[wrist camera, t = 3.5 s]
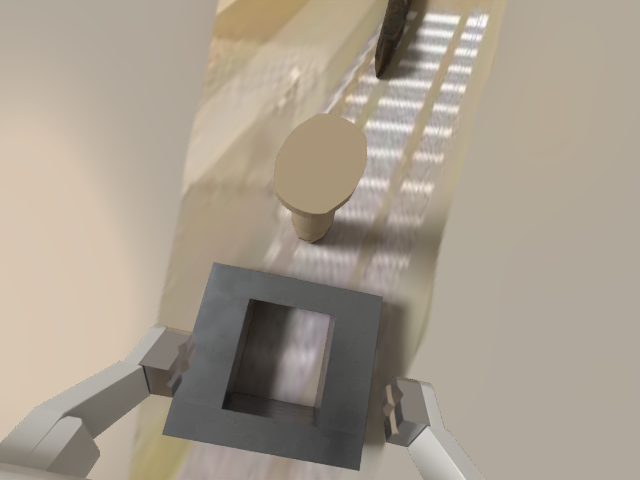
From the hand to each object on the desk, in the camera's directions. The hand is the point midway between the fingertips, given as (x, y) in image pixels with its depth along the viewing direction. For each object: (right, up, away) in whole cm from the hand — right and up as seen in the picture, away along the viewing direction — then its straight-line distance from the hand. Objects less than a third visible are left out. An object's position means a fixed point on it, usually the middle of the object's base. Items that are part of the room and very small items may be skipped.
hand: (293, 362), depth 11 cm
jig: (-2, -6, +16) cm, 17 cm away
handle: (0, +6, +19) cm, 20 cm away
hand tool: (+12, +35, +27) cm, 46 cm away
